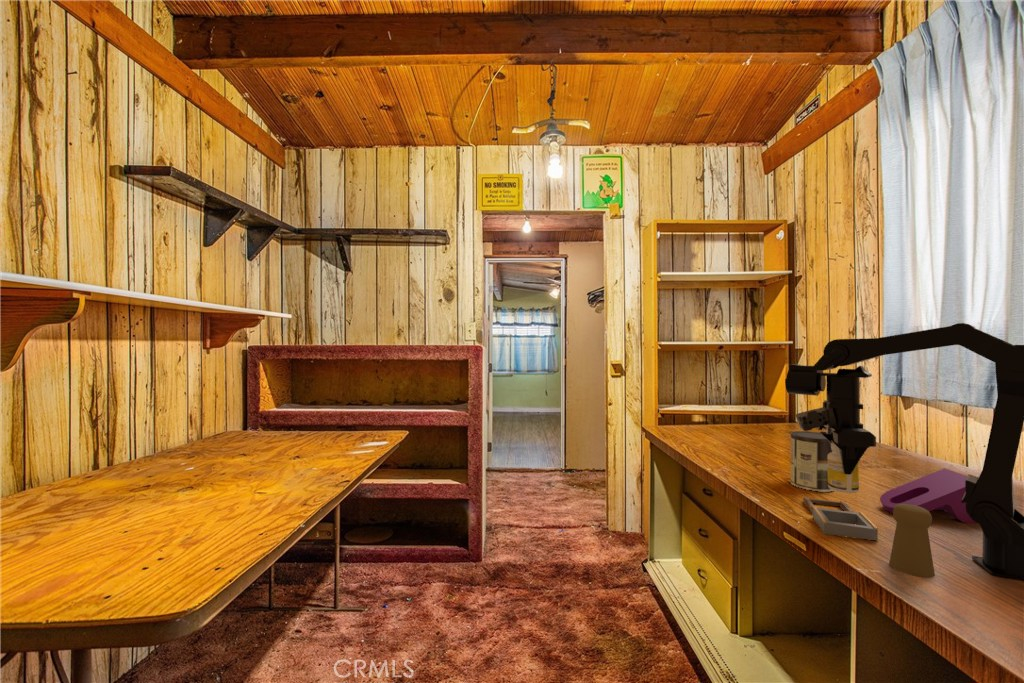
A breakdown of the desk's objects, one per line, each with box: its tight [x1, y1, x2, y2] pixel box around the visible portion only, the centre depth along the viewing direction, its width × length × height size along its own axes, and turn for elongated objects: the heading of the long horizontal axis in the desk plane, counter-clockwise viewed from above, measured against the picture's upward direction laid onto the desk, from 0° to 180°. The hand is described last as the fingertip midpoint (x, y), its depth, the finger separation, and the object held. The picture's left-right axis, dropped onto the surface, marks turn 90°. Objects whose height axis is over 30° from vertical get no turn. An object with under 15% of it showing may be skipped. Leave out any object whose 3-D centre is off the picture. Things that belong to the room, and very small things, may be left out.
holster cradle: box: [802, 496, 855, 514], centre depth 106 cm, size 8×8×2 cm
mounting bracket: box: [879, 467, 976, 524], centre depth 104 cm, size 9×8×18 cm
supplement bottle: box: [827, 443, 860, 494], centre depth 96 cm, size 5×5×10 cm
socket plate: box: [812, 505, 879, 542], centre depth 95 cm, size 9×9×3 cm
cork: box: [888, 504, 936, 578], centre depth 79 cm, size 6×6×11 cm
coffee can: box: [790, 430, 834, 493], centre depth 123 cm, size 10×10×14 cm
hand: (843, 470), depth 96 cm, fingers closed on supplement bottle, 5 cm apart
